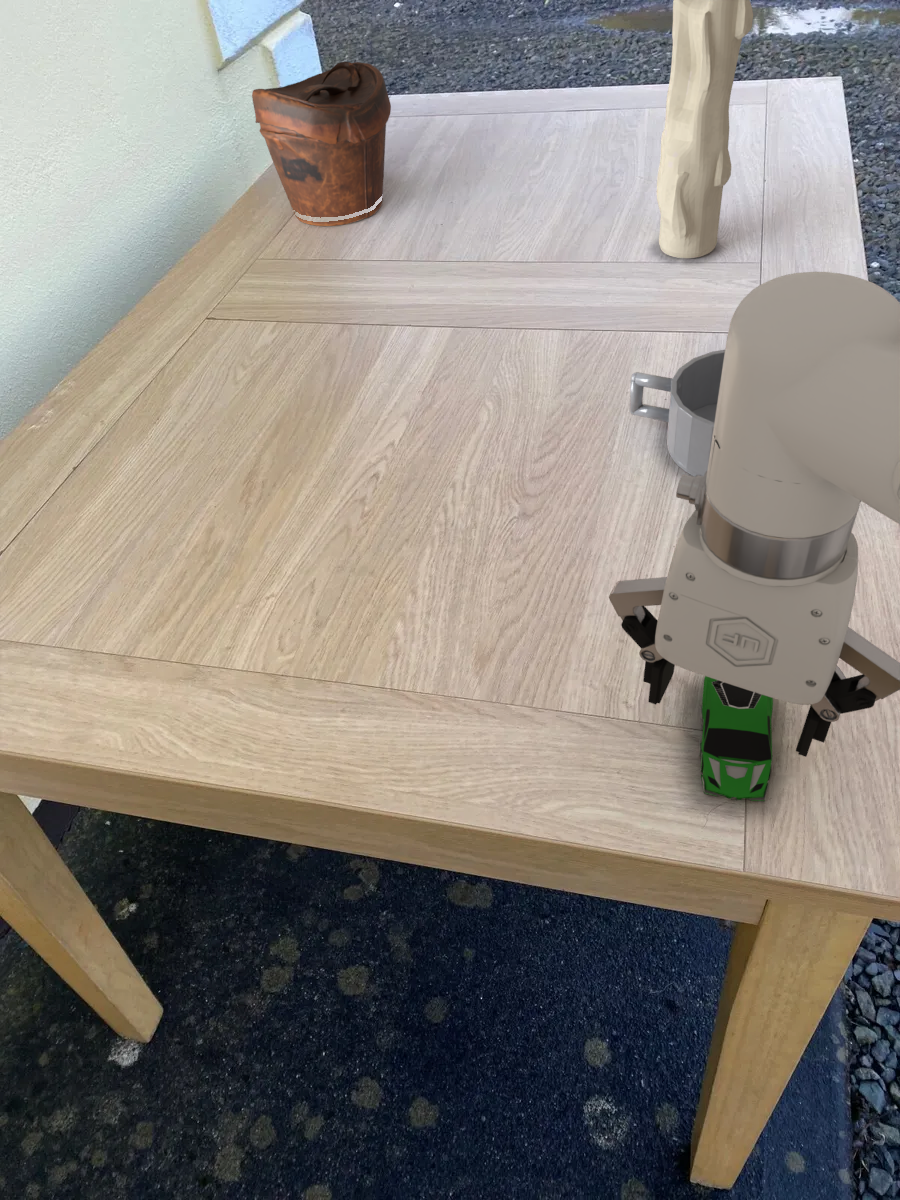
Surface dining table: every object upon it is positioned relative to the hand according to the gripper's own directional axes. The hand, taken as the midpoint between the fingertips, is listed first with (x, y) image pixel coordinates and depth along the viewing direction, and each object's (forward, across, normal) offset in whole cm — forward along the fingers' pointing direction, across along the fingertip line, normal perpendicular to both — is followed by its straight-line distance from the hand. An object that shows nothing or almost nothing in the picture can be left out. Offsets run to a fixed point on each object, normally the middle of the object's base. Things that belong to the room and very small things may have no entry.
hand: (731, 712), depth 60 cm
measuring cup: (+3, -10, +32) cm, 34 cm away
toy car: (+3, +1, 0) cm, 3 cm away
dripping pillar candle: (+3, -25, +68) cm, 73 cm away
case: (+4, -76, +68) cm, 102 cm away
